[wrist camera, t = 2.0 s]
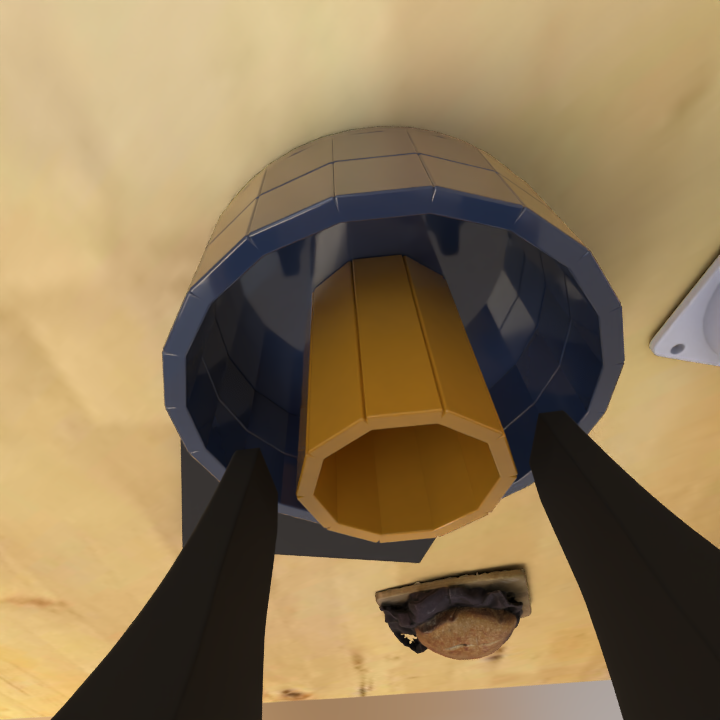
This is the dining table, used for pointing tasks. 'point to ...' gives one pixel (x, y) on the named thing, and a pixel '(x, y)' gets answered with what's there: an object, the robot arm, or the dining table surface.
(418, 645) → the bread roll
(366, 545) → the pot holder
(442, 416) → the cup
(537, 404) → the pot
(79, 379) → the dining table surface
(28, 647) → the dining table surface
